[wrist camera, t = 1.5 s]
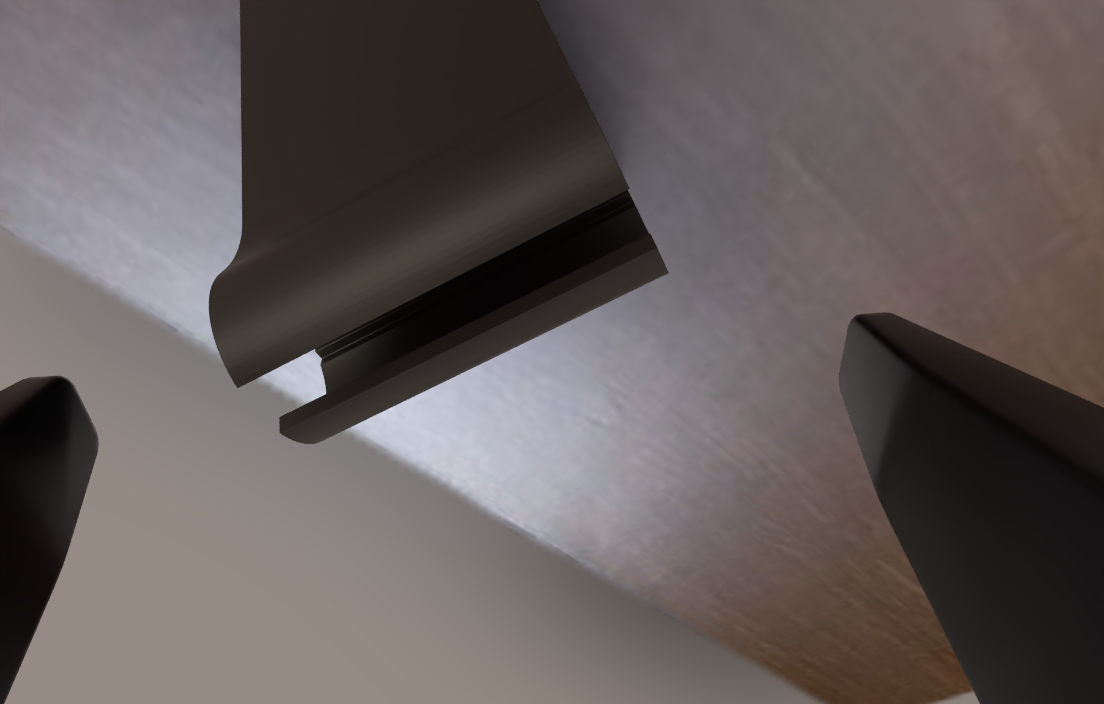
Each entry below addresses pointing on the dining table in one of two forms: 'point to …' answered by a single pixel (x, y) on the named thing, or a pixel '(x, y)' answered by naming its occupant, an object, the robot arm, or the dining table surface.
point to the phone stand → (413, 198)
